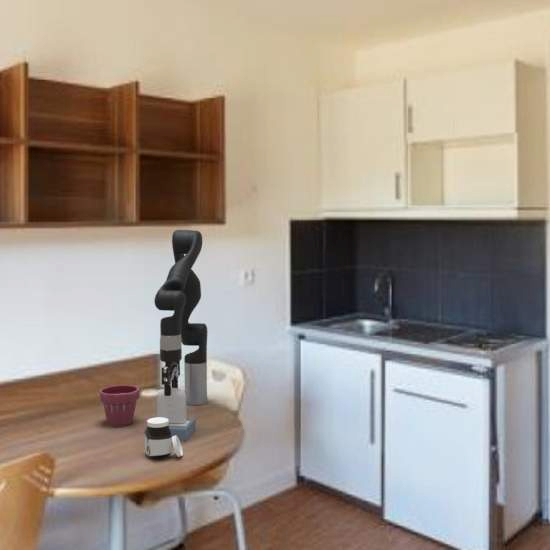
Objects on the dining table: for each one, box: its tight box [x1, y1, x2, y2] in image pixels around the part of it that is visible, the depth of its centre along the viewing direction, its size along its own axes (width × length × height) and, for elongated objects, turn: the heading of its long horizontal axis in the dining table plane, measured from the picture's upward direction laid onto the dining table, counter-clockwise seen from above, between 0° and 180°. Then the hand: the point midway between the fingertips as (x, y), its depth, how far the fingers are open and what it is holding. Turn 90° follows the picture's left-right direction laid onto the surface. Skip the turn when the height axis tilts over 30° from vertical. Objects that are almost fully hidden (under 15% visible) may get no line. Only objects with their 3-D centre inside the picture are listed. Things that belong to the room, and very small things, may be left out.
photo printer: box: [156, 387, 187, 423], centre depth 234 cm, size 10×4×12 cm, turn 88°
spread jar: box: [144, 416, 184, 460], centre depth 213 cm, size 12×11×12 cm
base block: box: [168, 417, 197, 442], centre depth 235 cm, size 13×14×4 cm
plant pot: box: [99, 384, 140, 427], centre depth 247 cm, size 14×14×13 cm
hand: (171, 392), depth 234 cm, fingers open, 8 cm apart
